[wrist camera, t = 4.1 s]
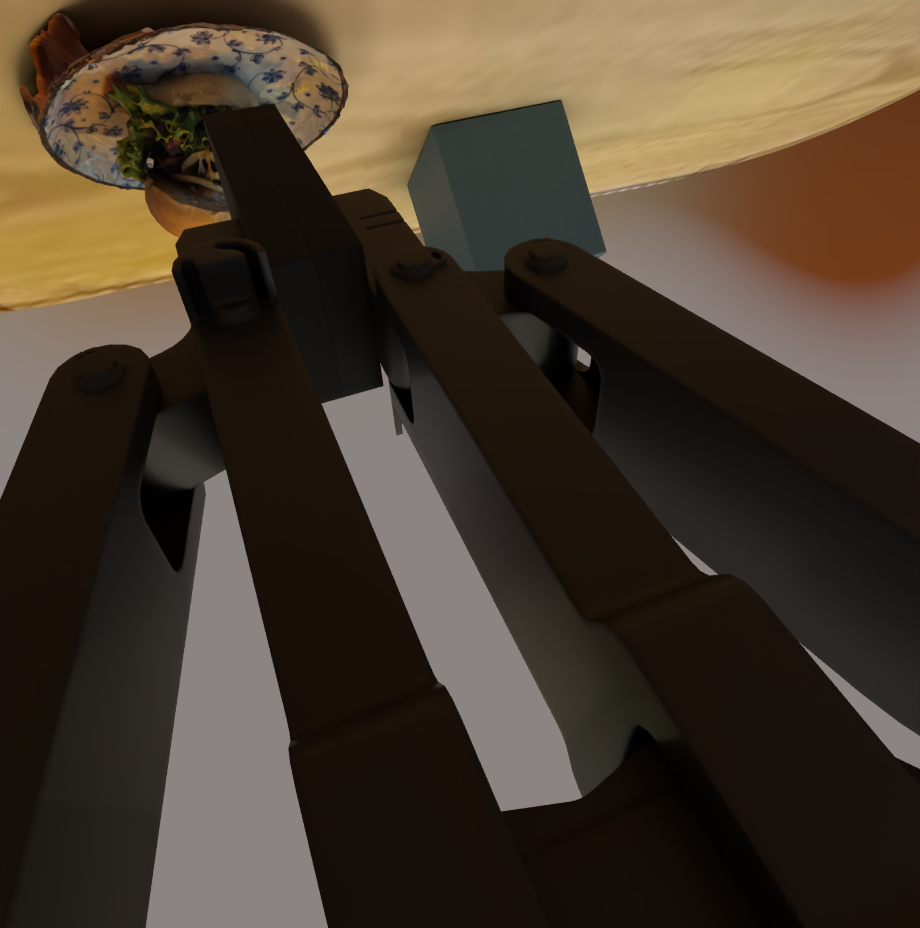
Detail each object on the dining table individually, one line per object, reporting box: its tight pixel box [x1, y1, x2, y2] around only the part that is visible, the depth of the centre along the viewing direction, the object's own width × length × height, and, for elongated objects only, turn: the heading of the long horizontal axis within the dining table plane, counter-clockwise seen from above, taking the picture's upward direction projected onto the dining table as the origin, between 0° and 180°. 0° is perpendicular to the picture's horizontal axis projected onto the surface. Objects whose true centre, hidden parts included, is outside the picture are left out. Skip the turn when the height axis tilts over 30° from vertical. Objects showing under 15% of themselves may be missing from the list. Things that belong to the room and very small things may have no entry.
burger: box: [20, 13, 349, 237], centre depth 28 cm, size 12×12×8 cm
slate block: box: [408, 101, 606, 271], centre depth 43 cm, size 8×8×9 cm
